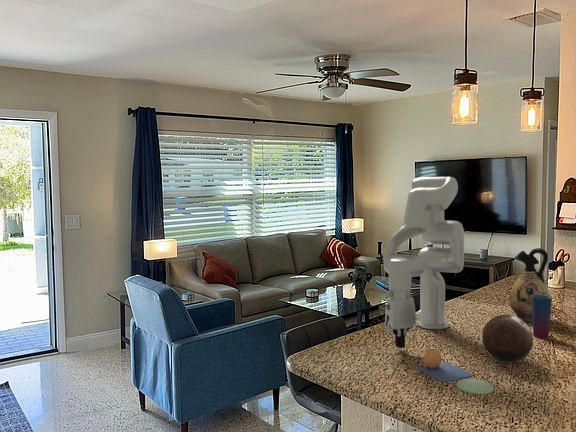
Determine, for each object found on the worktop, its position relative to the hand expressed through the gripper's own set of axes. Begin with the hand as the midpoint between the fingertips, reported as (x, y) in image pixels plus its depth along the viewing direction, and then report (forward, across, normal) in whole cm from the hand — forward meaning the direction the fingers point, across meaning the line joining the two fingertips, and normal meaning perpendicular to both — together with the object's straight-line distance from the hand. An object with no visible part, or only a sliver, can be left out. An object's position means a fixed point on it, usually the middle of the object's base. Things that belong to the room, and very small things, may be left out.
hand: (400, 346), depth 174 cm
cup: (+2, +55, -12) cm, 56 cm away
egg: (-1, -1, -17) cm, 17 cm away
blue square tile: (+2, 0, -22) cm, 22 cm away
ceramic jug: (+2, +71, +5) cm, 71 cm away
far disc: (+2, 0, -34) cm, 34 cm away
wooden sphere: (+2, +24, -24) cm, 34 cm away
